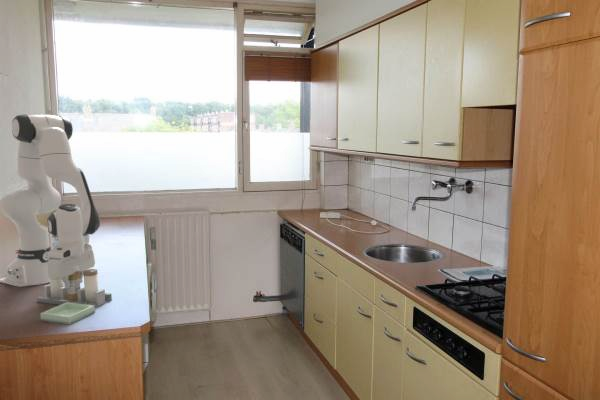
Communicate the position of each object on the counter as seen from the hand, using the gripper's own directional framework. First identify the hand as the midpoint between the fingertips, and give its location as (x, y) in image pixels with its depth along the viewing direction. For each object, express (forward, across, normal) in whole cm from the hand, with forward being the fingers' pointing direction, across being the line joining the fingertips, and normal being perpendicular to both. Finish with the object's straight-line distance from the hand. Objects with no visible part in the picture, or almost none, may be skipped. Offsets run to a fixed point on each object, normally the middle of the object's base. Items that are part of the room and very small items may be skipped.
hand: (73, 284), depth 197 cm
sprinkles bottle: (+6, 0, 0) cm, 6 cm away
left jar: (+6, 0, -8) cm, 10 cm away
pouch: (+6, -38, -36) cm, 53 cm away
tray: (+6, +14, +10) cm, 18 cm away
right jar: (+6, 0, +8) cm, 10 cm away
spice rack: (+6, 0, 0) cm, 6 cm away
